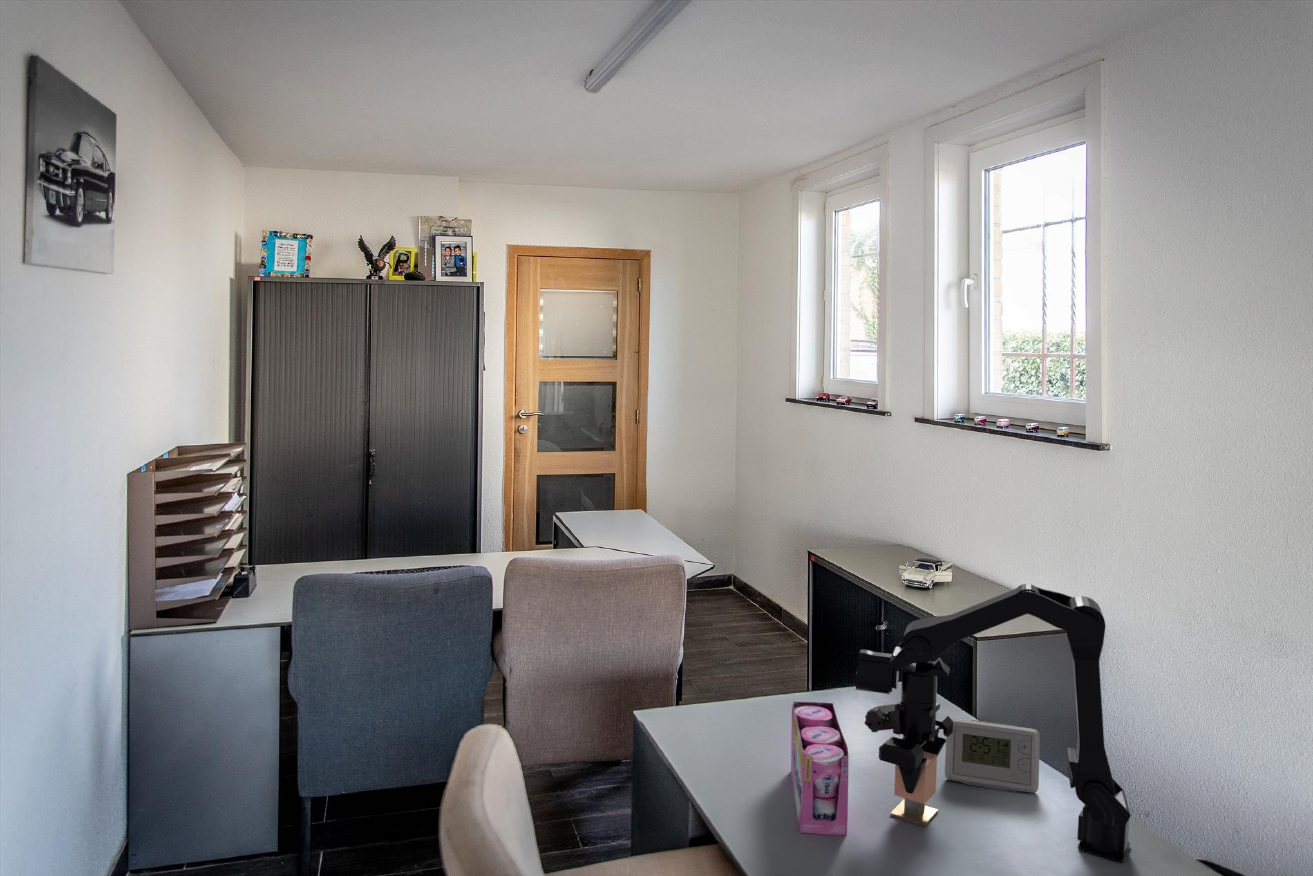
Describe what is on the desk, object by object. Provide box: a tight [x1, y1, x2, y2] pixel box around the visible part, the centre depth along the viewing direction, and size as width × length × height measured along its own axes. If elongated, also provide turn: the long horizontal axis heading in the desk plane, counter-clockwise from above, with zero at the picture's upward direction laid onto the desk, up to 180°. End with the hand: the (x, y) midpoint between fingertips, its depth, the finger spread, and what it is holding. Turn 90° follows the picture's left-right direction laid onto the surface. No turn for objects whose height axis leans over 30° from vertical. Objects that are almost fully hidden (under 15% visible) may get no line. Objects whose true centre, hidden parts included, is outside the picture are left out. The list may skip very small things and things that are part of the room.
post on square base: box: [889, 798, 939, 828], centre depth 155 cm, size 6×6×7 cm
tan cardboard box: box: [893, 751, 938, 805], centre depth 155 cm, size 5×5×7 cm
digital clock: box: [944, 718, 1040, 794], centre depth 167 cm, size 16×9×11 cm, turn 60°
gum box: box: [790, 701, 849, 836], centre depth 158 cm, size 24×8×14 cm, turn 176°
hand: (915, 786), depth 155 cm, fingers closed on tan cardboard box, 5 cm apart
